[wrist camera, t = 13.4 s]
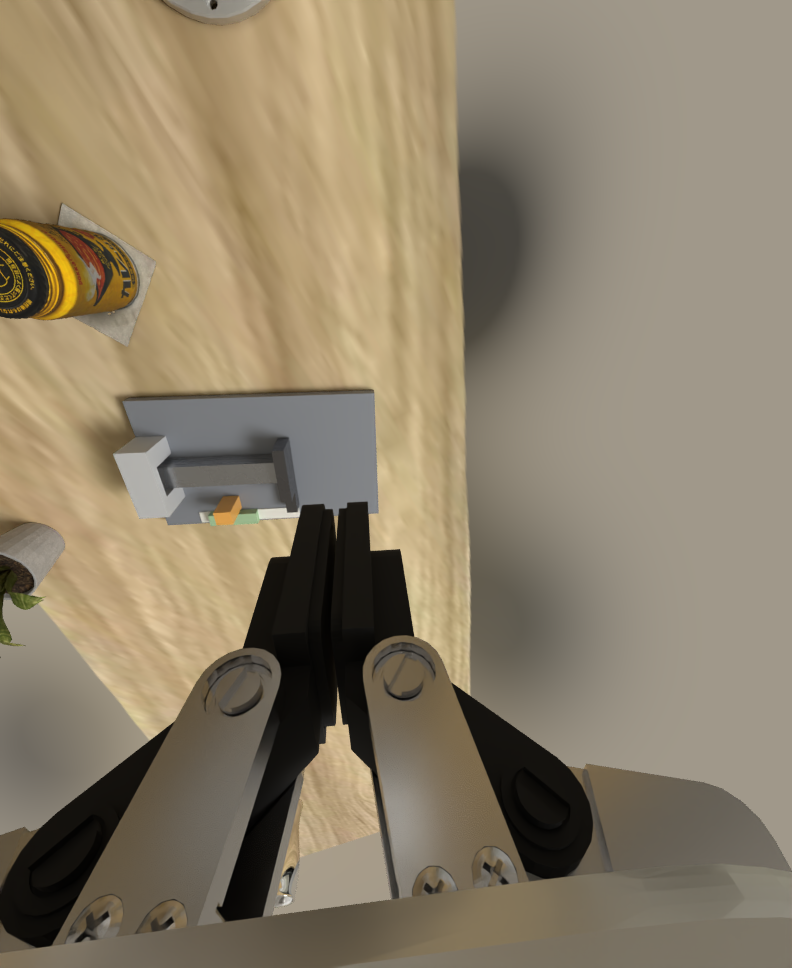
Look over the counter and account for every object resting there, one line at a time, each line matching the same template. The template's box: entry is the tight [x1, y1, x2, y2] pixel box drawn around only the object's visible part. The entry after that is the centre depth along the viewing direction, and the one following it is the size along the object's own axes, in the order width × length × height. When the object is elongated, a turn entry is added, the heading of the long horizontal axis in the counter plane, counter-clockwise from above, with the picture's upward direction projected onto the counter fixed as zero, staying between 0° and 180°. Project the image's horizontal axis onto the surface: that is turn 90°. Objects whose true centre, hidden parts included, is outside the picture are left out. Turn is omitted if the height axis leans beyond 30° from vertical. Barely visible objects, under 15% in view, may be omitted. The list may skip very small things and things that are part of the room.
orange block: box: [213, 496, 242, 525], centre depth 42 cm, size 2×2×4 cm
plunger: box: [157, 438, 300, 513], centre depth 41 cm, size 9×15×4 cm, turn 90°
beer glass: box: [274, 799, 303, 908], centre depth 77 cm, size 7×7×15 cm
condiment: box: [0, 203, 156, 347], centre depth 28 cm, size 7×8×12 cm
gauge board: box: [113, 390, 378, 526], centre depth 41 cm, size 15×25×5 cm, turn 90°
